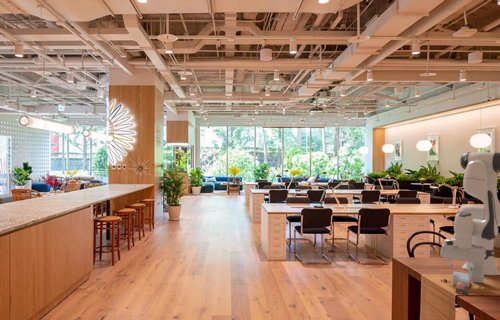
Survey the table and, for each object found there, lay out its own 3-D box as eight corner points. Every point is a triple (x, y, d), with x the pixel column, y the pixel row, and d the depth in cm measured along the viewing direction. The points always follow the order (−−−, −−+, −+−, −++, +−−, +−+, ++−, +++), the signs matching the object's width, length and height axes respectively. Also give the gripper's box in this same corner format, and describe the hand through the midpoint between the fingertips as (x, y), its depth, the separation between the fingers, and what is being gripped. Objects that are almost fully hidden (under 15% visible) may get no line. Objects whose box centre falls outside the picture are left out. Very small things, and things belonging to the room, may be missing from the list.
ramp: (452, 278, 189) (453, 270, 189) (467, 281, 186) (468, 273, 186) (453, 285, 179) (453, 276, 179) (469, 288, 175) (469, 279, 175)
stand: (441, 279, 187) (441, 278, 187) (449, 281, 185) (449, 280, 185) (440, 281, 183) (441, 280, 183) (449, 283, 181) (449, 282, 181)
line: (453, 286, 176) (453, 286, 176) (469, 289, 173) (469, 289, 173) (453, 286, 176) (453, 286, 176) (469, 290, 172) (469, 289, 172)
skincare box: (478, 280, 189) (479, 258, 189) (483, 283, 185) (484, 260, 185) (467, 279, 190) (468, 257, 190) (471, 282, 185) (473, 259, 185)
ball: (456, 279, 174) (456, 284, 175) (456, 285, 171) (456, 290, 173) (465, 281, 172) (464, 286, 174) (465, 287, 169) (464, 292, 171)
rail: (455, 291, 169) (455, 287, 169) (467, 294, 167) (468, 289, 167) (455, 292, 168) (455, 288, 168) (467, 294, 166) (468, 290, 166)
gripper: (485, 245, 183) (483, 271, 183) (441, 239, 193) (439, 263, 193) (486, 247, 178) (485, 274, 178) (441, 241, 188) (439, 266, 188)
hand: (461, 268), depth 186 cm, fingers open, 8 cm apart
